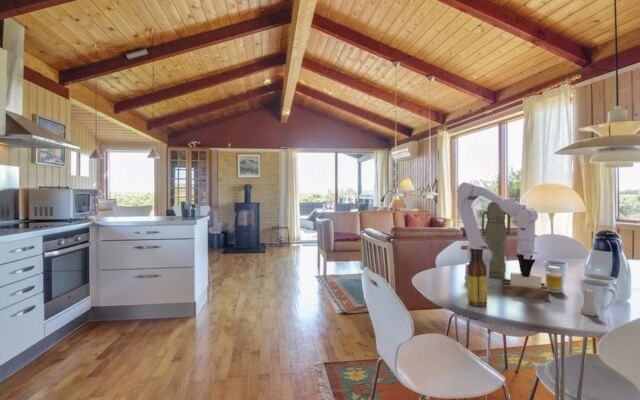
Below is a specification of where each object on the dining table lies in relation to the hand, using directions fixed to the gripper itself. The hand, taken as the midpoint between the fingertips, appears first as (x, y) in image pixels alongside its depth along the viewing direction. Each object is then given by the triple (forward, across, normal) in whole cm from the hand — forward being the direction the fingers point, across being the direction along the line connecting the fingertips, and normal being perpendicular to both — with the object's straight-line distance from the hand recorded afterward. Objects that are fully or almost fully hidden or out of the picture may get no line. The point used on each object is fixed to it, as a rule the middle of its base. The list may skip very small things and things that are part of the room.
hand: (524, 274), depth 134 cm
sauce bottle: (+8, -22, +16) cm, 28 cm away
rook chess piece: (+8, -15, -17) cm, 24 cm away
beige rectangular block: (+7, 0, 0) cm, 7 cm away
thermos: (+8, +28, +10) cm, 31 cm away
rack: (+8, +3, 0) cm, 8 cm away
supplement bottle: (+8, +12, -11) cm, 18 cm away
